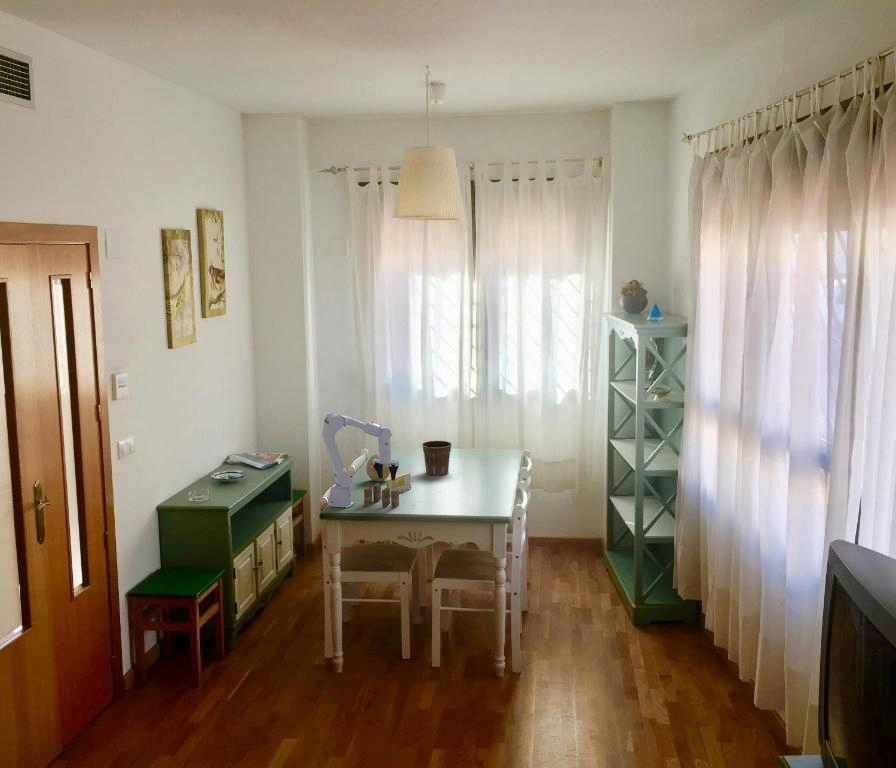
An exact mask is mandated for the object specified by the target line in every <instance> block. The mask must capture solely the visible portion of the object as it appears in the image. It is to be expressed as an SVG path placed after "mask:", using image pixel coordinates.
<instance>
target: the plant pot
mask: <svg viewBox="0 0 896 768" xmlns="http://www.w3.org/2000/svg"><path fill="white" fill-rule="evenodd" d="M452 446H453V444H452V442H450V441H445V440H430V441H425V442H423V443H421V447H422V451H423V454H424V455H423V456H424V467H425V474H427V475H429V476H433V475H435V477H436V476H438V477H439V476H443V475H447V474H449V471H450V469H449V468H450V458H451V457H450V455H451V451H452Z"/></svg>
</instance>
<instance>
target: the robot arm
mask: <svg viewBox="0 0 896 768" xmlns="http://www.w3.org/2000/svg"><path fill="white" fill-rule="evenodd" d="M347 426H351V427H354V428H358V429H361V430H362V431H363V433H364V434H367V435H370V436H372V437H375V438H377V441H378V442H377V443H378V453H379V458H380V459H373V464H375V465H373V467H374V468H375V470H376V472H377V474H378V477H379V479H381V478H383V464H385V465H390V467H389V470H390V474H389V475H390V478H391V480H395V477H396V476H397V472H398V469H399V467H400V462H399V461H398V460H393V458H392V449H391V437H392V433H391V430H390V429H389V428H388V427H385V426H383V424H376V423H374V421H373V420H370V421H365V422H362V421H360V420H358V419H355V418H353V417H350V416H347V415H345V414H339V413H338V414H337V413H335V412H330V413H329V414H327V415H326V417H325V419H324V420H323V429H322V432H321V433H322V434H321V435H322V439H323V442H324V444H325V448H326V451H327V454H328V457H329V460H330V462H331V465H332V468H333V470H332V473H333V481H334V483H335V485H334V486H331V487H330V490H329V504H330V505H329V507H333V508H344V507H345V508H348V507H349V508H350V507H351V506H352V505H354V504H355V502H354V501H352V492H351V490H352V489H351V487H352V486H351V485H352V483H353V479H352V477H351V476H350V475H349V473H348V471H347V469H346V468H345V466H344V462H343V459H342V456H341V453H340V450H339V447H338V444H337V441H336V438H335V436H336V434H337V433H338V432H339V431H340V430H341V429H342V428H343V427H347Z"/></svg>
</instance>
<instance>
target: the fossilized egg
mask: <svg viewBox="0 0 896 768" xmlns="http://www.w3.org/2000/svg"><path fill="white" fill-rule="evenodd" d="M373 459H380V458H379V452H376V453H374V454H372V455H371V456H370V458H369V459H368V460H367V463H366V466H365V467H366V468H365V469H366V474H367V476H368V477H369V479H370V480H372V481H374V482H376V483H380V482H383V481H386V479H388V477H389V476H390V475H391V474H390V470H389V467H390V466H391V465H385V464H383V478H381V479H379V477H378V474H377V472H376V470H375V468H374V467H373V465H375V464H373Z"/></svg>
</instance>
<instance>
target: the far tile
mask: <svg viewBox="0 0 896 768" xmlns="http://www.w3.org/2000/svg"><path fill="white" fill-rule="evenodd" d="M390 505H391V506H390V507H391V509H396V508H397V507H399V506H400V493H399V489H396V488H394V489H393V490H392V491H391V495H390ZM398 505H399V506H398Z"/></svg>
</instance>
